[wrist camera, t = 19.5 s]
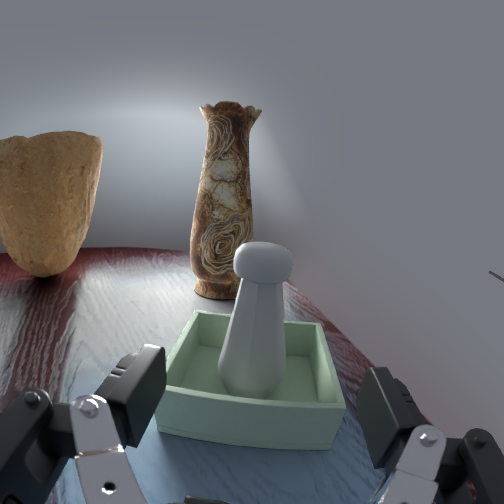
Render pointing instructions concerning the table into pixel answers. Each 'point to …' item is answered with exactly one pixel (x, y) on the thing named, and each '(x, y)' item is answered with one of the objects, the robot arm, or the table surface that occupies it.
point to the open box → (248, 409)
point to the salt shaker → (256, 322)
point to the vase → (222, 200)
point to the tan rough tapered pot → (47, 197)
